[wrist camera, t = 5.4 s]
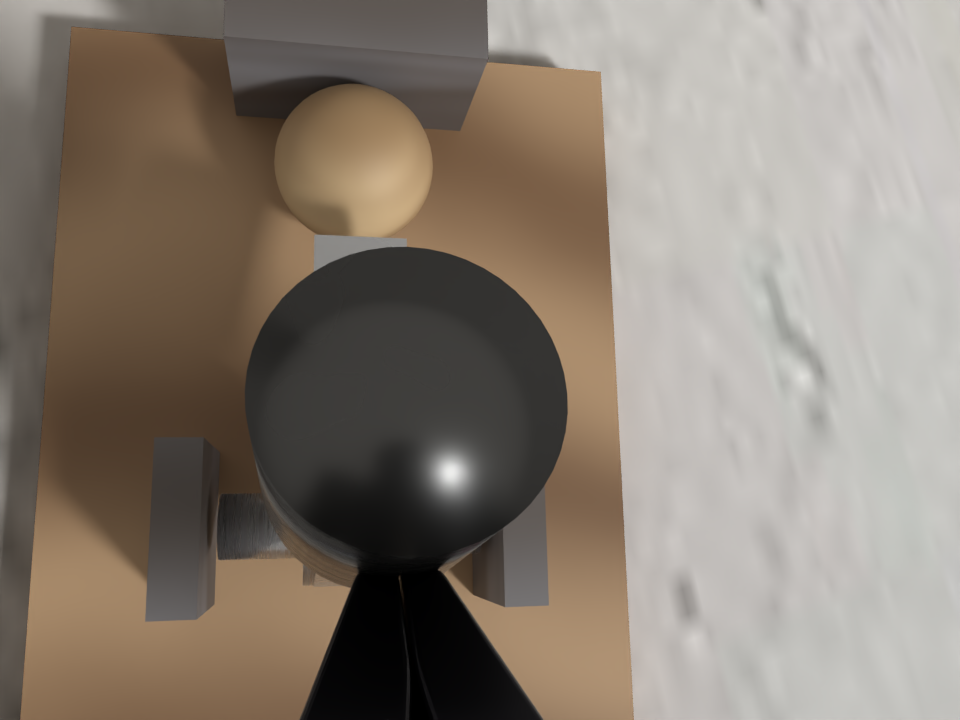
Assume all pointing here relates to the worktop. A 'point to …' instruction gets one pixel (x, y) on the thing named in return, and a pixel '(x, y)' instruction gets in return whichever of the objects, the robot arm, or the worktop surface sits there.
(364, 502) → the lever
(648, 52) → the worktop surface
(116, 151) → the press base
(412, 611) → the robot arm
